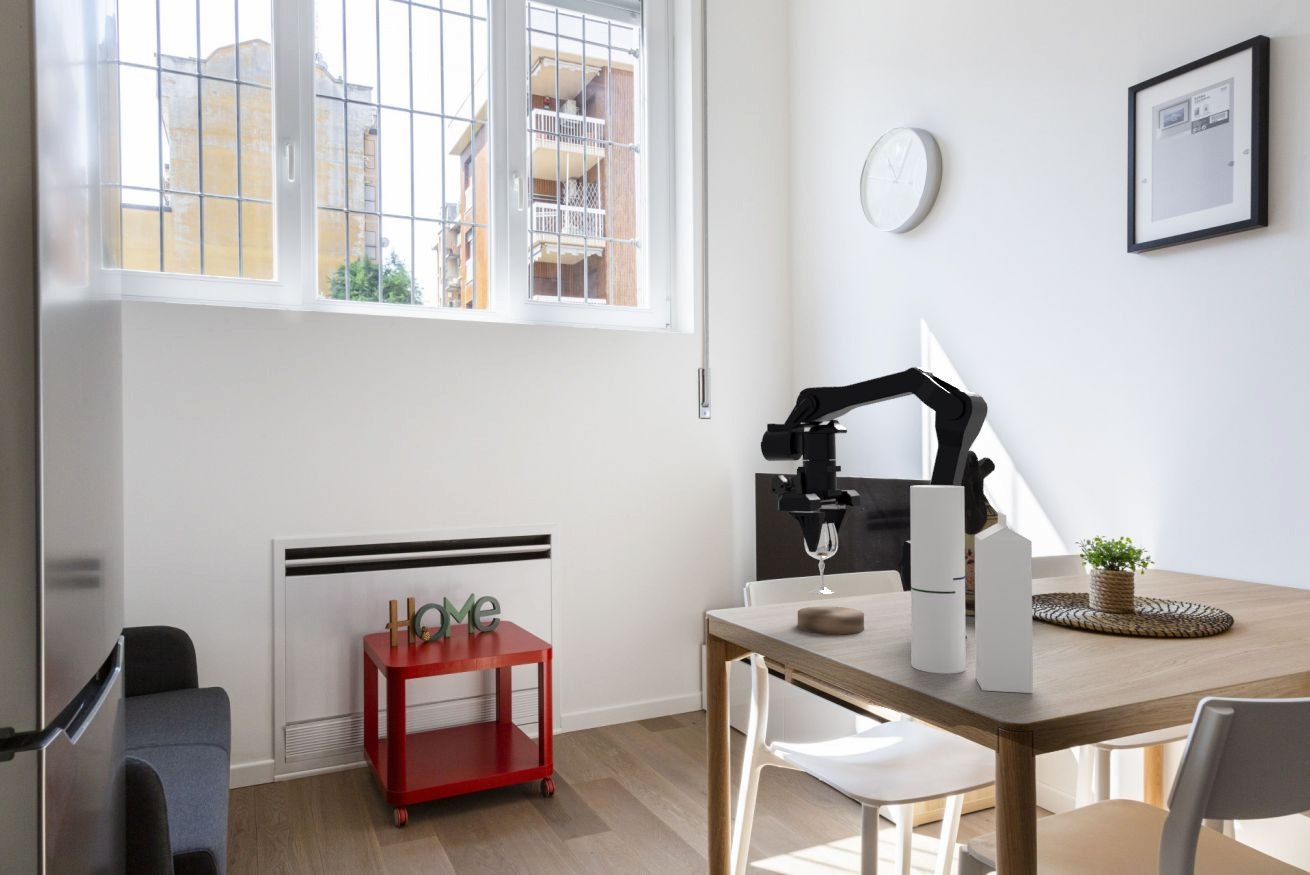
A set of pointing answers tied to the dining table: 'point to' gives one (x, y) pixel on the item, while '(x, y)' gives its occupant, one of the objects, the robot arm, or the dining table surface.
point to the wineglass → (824, 552)
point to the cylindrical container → (938, 578)
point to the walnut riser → (830, 620)
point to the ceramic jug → (975, 517)
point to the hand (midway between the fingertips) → (821, 550)
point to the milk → (1003, 609)
